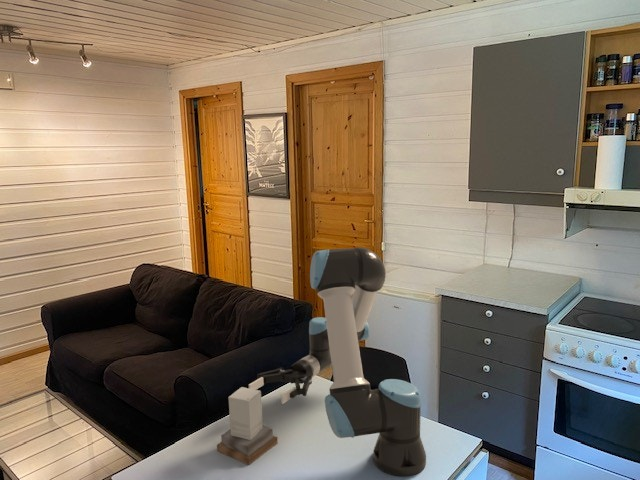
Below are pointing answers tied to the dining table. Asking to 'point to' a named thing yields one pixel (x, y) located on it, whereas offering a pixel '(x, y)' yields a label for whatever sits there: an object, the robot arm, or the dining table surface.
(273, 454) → the dining table surface
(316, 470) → the dining table surface
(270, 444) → the tower plinth
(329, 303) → the robot arm
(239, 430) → the supplement box
